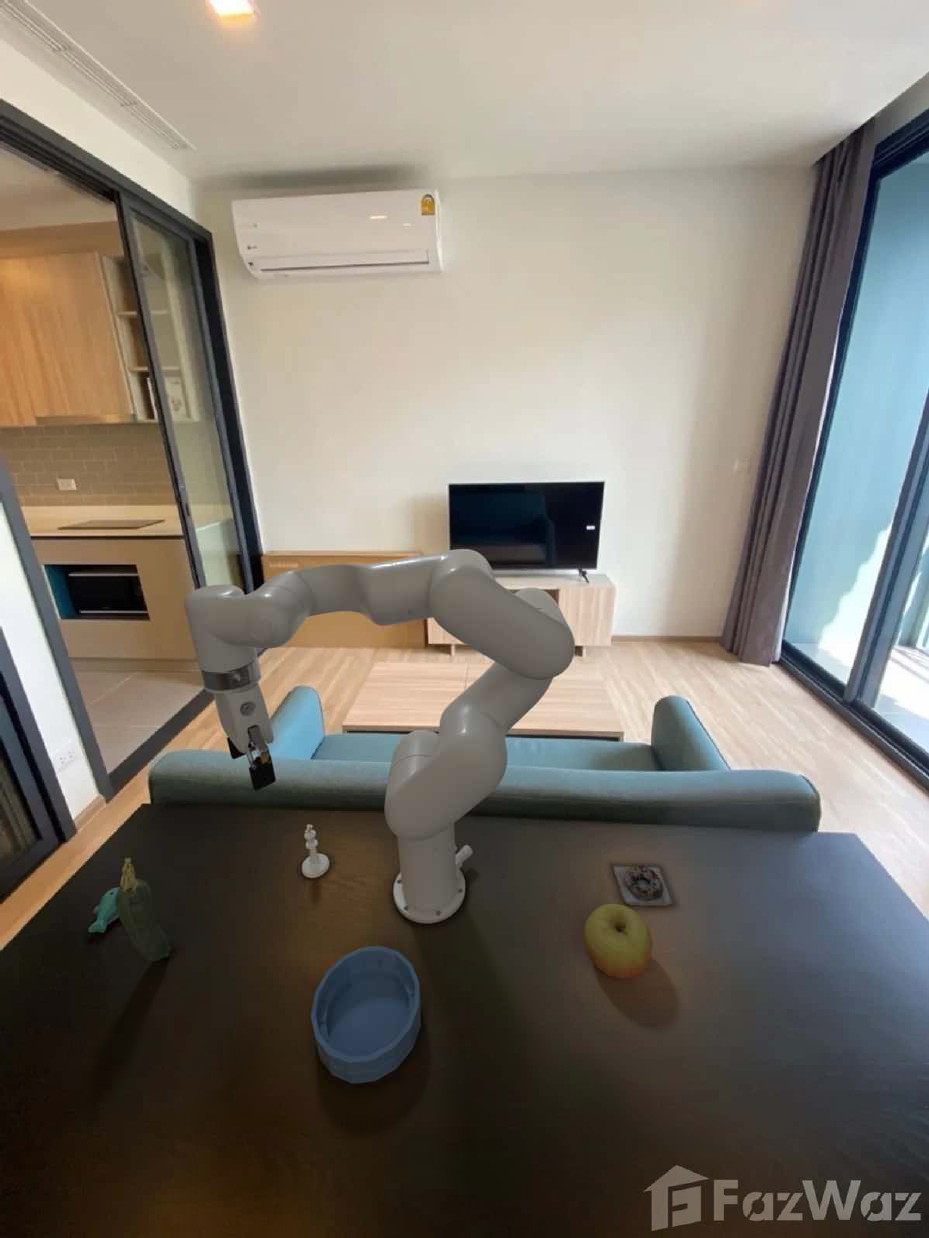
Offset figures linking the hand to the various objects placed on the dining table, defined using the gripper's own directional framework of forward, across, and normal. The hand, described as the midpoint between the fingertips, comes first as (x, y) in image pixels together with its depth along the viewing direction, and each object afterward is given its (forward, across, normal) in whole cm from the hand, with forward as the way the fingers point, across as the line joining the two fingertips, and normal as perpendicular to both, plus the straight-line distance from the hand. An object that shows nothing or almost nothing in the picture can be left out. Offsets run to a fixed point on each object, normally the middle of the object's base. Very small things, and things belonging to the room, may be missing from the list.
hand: (253, 769), depth 77 cm
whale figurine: (+28, +16, +23) cm, 39 cm away
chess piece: (+28, +2, -7) cm, 28 cm away
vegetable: (+28, +2, +19) cm, 33 cm away
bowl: (+27, -28, -1) cm, 39 cm away
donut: (+28, -41, -49) cm, 69 cm away
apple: (+28, -45, -34) cm, 63 cm away
